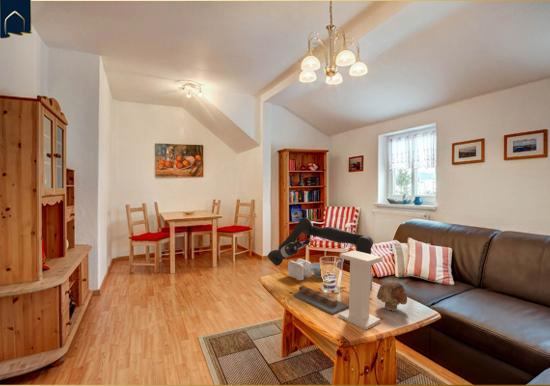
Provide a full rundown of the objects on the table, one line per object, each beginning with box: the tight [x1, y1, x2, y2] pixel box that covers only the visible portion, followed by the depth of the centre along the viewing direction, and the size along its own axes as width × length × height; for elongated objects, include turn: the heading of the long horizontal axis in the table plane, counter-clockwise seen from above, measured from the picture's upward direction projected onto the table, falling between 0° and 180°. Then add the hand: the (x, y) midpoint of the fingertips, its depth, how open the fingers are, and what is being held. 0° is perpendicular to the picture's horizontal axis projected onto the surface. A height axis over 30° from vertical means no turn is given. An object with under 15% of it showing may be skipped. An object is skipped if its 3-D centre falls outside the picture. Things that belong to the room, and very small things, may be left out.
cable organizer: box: [287, 258, 312, 281], centre depth 199 cm, size 15×11×12 cm
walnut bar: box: [298, 285, 338, 307], centre depth 161 cm, size 26×3×3 cm, turn 40°
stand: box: [337, 249, 383, 330], centre depth 138 cm, size 16×12×32 cm
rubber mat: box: [292, 288, 349, 316], centre depth 159 cm, size 30×14×1 cm, turn 38°
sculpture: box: [376, 280, 408, 312], centre depth 150 cm, size 15×16×15 cm
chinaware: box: [311, 262, 321, 278], centre depth 202 cm, size 15×15×8 cm
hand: (304, 241), depth 168 cm, fingers open, 8 cm apart
